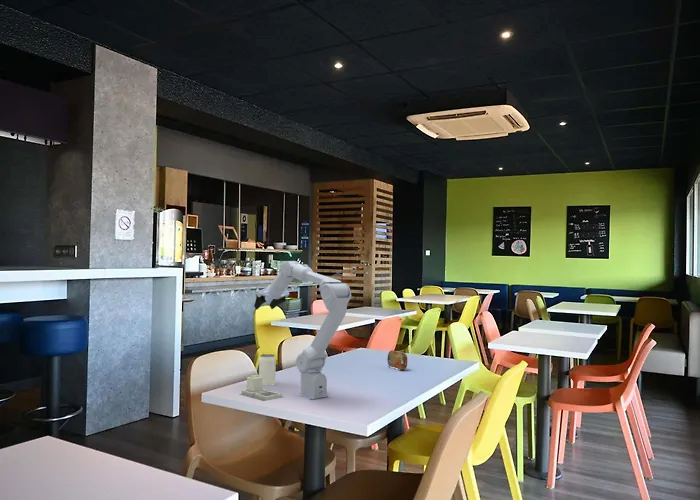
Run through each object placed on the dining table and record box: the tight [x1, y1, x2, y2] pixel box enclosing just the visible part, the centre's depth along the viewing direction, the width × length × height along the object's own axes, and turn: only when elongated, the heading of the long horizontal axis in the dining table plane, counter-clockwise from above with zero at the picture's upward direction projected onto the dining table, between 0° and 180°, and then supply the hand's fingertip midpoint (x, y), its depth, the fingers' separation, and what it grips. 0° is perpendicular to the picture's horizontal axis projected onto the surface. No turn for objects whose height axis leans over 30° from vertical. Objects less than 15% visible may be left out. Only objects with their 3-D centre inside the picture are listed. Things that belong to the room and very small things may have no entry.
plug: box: [246, 374, 263, 393], centre depth 199 cm, size 4×4×7 cm
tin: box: [387, 350, 408, 371], centre depth 257 cm, size 15×3×8 cm, turn 25°
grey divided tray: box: [238, 388, 284, 402], centre depth 196 cm, size 15×9×2 cm, turn 46°
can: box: [258, 353, 277, 387], centre depth 217 cm, size 6×6×12 cm
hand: (263, 307), depth 219 cm, fingers open, 7 cm apart
